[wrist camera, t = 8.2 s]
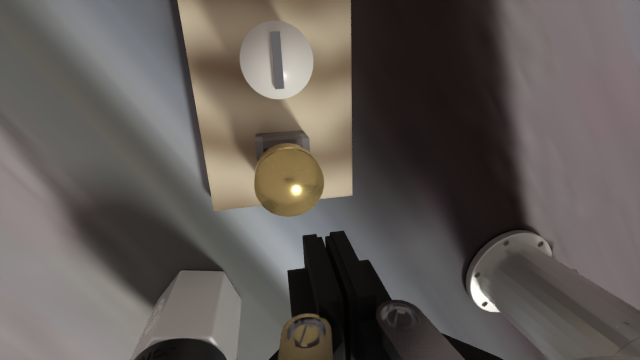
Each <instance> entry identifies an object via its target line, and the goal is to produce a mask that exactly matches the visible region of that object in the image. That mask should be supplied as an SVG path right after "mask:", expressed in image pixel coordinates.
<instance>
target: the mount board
mask: <svg viewBox="0 0 640 360" xmlns="http://www.w3.org/2000/svg"><path fill="white" fill-rule="evenodd" d="M177 1H178V6H179V12H180V18H181V24H182V29H183V35H184V41H185V47H186V53H187V58H188V64H189V70H190V76H191V81H192V87H193V93H194V99H195V105H196V110H197V116H198V122H199V128H200V133H201V139H202V145H203V151H204V156H205V162H206V168H207V174H208V180H209V185H210V191H211V197H212V203H213V208H214V211H217V210H226V209H235V208H244V207H253V206H262V205H261V203H260V202H259V200H258V198H257V196H256V193H255V189H254V178H255V168H256V164H257V162H258V160H259V158H260V157H261V155H262V154H263V153H264V152H265V151H266V150H268V149H269V148H271V147H273V146H275V145H278V144H283V143H291V144H296V145H299V146H301V147H303V148H305V149H306V150H308V151H309V152H310V153H311V155H312V156H313V157H314V159H315V160H316V162H317V163H318V164H319V166H320V168H321V170H322V172H323V176H324V189H323V192H322V195H321V197H320V199H324V198H333V197H342V196H351V195H352V91H351V0H177ZM267 21H282V22H286V23H289V24H291V25H293V26H294V27H296V28H297V29H298V30H299V31H300V32H302V34H303V35H304V36H305V37H306V39H307V40H308V42H309V44H310V47H311V49H312V53H313V71H312V75H311V77H310V80H309V81H308V83H307V85H306V86H305V87H304V88H303V89H302V90H301V91H300V92H299V93H297V94H296V95H294V96H292V97H289V98H286V99H271V98H268V97H265V96H263V95H261V94H259V93H258V92H256V91H255V90H254V89H253V88H252V87H251V86H250V85H249V84H248V82H247V81H246V79H245V77H244V75H243V73H242V70H241V66H240V50H241V46H242V43H243V41H244V39H245V37H246V35H247V34H248V33H249V32H250V31H251V30H252V29H253V28H254V27H255V26H257V25H259V24H261V23H263V22H267Z"/></svg>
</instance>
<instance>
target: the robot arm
mask: <svg viewBox="0 0 640 360" xmlns="http://www.w3.org/2000/svg"><path fill="white" fill-rule="evenodd" d="M325 245H326V248H325ZM325 245H324V242H323V239H322V237H317V235H316V234H312V235H304V236H303V250H304V264H305V268H302V269H295V270H287V271H288V282H289V293H290V303H291V314H292V318H291V319H290V320H289V321H287V323H286V324H285V325H284V327H283V330H282V333H281V339H280V347H279V350H278V351H277V352H276V353H275V354H274V355H273V356H272V357H271V358H270V359H269V360H503V359H501V358H499V357H497V356H495V355H492V354H490V353H488V352H485V351H483V350H481V349H478V348H476V347H473V346H471V345H469V344H466V343H464V342H461V341H459V340H457V339H454V338H452V337H450V336H447V335H445V334H442V333H440V331H439V330H438V329H437V328H436V327H435V326H434V325H433V324H432V323H431V321H430V320H429V319H428V318H427V317H426V316H425V315H424V314H423V313H422V311H421V310H420V309H418V308H417V307H416V306H415V305H413V304H411V303H409V302H406V301H402V300H392V299H391V298H390V296H389V294H388V292H387V291H386V289H385V287H384V285H383V284H382V282H381V280H380V278H379V277H378V275H377V273H376V271H375V270H374V268H373V266H372V264H371V263H370V261H369V260H362V261H359V259H358V258H357V256H356V254H355V252H354V250H353V248H352V246H351V244H350V242H349V240H348V238H347V236H346V234H345V232H344V231H337V232H330V236H326V237H325ZM466 289H467V292H468V295H469V296H470V298H471V299H472V300H473V302H474V303H475V304H476V305H477V306H479V307H480V308H481V309H484V310H486V311H490V312H501V313H502V314H503V315H504V316H505V317H506V318H507V319H508V320H509V321H510V322H511V323H512V324H513V325H514V326H515V327H516V328H517V329H518V330H519V331H520V332H521V333H522V334H523V335H524V336H526V337H527V338H528V339H529V340H530V341H531V342H532V343H533V344H534V345H535V346H536V347H537V348H538V349H539V350H540V351H541V352H542V353H543V354H544V355H545V356H546V357H547V358H548V359H549V360H640V310H638V309H636V308H635V307H633V306H631V305H630V304H628V303H626V302H625V301H623V300H621V299H620V298H618V297H616V296H615V295H613V294H611V293H610V292H608V291H607V290H605V289H603V288H602V287H600V286H598V285H597V284H595V283H593V282H592V281H590V280H588V279H587V278H585V277H583V276H582V275H580V274H579V272H578V271H577V270H575V269H570V268H569V267H567V266H565V265H564V264H562V263H560V262H559V261H557V260H555V259H554V258H552V251H551V249H550V246H549V244H548V243H547V242H546V240H544V239H543V238H542V237H540V236H539V235H537V234H535V233H533V232H530V231H526V230H515V231H510V232H507V233H504V234H501V235H499V236H497V237H496V238H494V239H492V240H491V241H489V242H488V243H487V244H486V245H485V246H484V247H482V248H481V249H480V250H479V252H478V253H477V254H476V256H475V257H474V259H473V260H472V262H471V264H470V266H469V269H468V272H467V276H466Z"/></svg>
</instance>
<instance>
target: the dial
mask: <svg viewBox="0 0 640 360" xmlns="http://www.w3.org/2000/svg"><path fill="white" fill-rule="evenodd" d="M240 66H241V70H242V73H243V75H244V77H245V79H246V81H247V82H248V84H249V85H250V86H251V87H252V88H253V89H254V90H255V91H256V92H258V93H259V94H261V95H263V96H265V97H268V98H271V99H286V98H289V97H292V96H294V95H296V94H297V93H299V92H300V91H301V90H302V89H303V88H304V87H305V86H306V85H307V83H308V81H309V80H310V77H311V75H312V71H313V53H312V49H311V47H310V44H309V42H308V40H307V39H306V37H305V36H304V35H303V34H302V32H300V31H299V30H298V29H297V28H296V27H294V26H293V25H291V24H289V23H286V22H282V21H267V22H263V23H261V24H259V25H257V26H255V27H254V28H253V29H252V30H251V31H250V32H249V33H248V34H247V35H246V37H245V39H244V41H243V43H242V46H241V50H240Z"/></svg>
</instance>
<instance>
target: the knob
mask: <svg viewBox="0 0 640 360" xmlns="http://www.w3.org/2000/svg"><path fill="white" fill-rule="evenodd" d="M254 189H255V193H256V196H257V198H258V200H259V202H260V203H261V205H262V206H263V207H264V208H266V209H267V210H268V211H270V212H271V213H274V214H276V215H279V216H287V217H289V216H297V215H300V214H303V213H305V212H307V211H308V210H310V209H311V208H312V207H313V206H314V205H315V204H316V203H317V202H318V201H319V199H320V197H321V195H322V192H323V189H324V176H323V172H322V170H321V168H320V166H319V164H318V163H317V162H316V160H315V159H314V157H313V156H312V155H311V153H310V152H309V151H308V150H306V149H305V148H303V147H301V146H299V145H296V144H291V143H283V144H278V145H275V146H273V147H271V148H269V149H268V150H266V151H265V152H264V153H263V154H262V155H261V157H260V158H259V160H258V162H257V164H256V168H255V178H254Z"/></svg>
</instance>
